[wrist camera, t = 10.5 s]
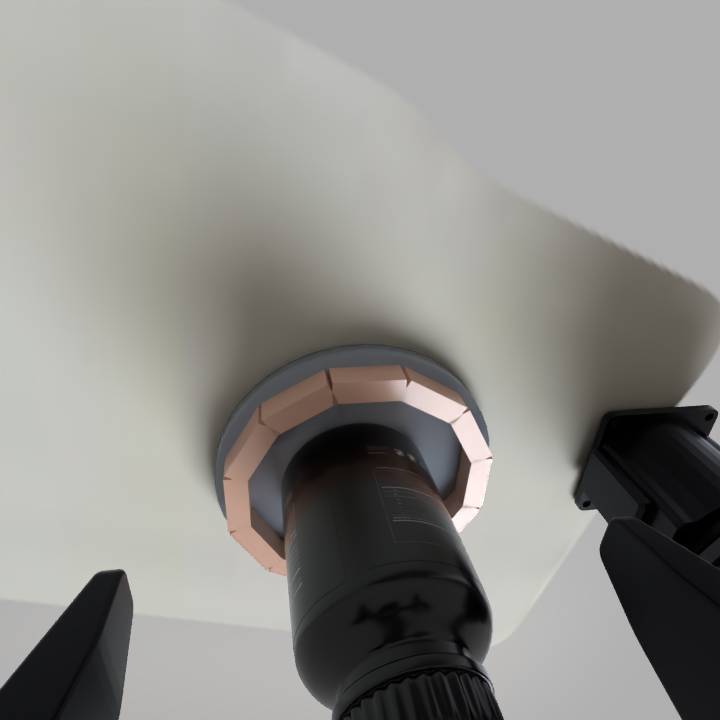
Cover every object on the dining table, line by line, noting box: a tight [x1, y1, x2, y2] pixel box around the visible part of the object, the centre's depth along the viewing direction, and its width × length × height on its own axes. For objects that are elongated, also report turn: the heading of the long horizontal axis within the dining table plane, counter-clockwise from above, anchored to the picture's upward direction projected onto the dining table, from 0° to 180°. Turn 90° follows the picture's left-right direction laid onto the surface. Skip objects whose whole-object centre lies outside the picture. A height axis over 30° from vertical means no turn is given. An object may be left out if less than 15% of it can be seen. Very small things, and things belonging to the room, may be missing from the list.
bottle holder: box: [215, 345, 493, 576], centre depth 24 cm, size 13×13×2 cm
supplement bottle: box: [281, 423, 504, 720], centre depth 19 cm, size 7×7×12 cm
